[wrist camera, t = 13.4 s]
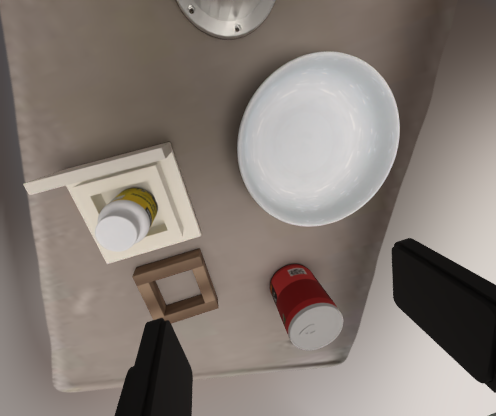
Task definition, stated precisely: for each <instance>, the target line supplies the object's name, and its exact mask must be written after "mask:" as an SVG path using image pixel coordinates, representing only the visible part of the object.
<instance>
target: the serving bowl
mask: <svg viewBox="0 0 496 416" xmlns="http://www.w3.org/2000/svg"><path fill="white" fill-rule="evenodd" d="M399 134H400V124H399V115H398V109H397V105H396V102H395V99H394V96H393V94H392V92H391V90H390V88H389V86H388V84H387V83H386V81H385V80H384V79H383V77H382V76H381V75H380V74H379V73H378V72H377V71H376V70H375V69H374V68H373V67H372V66H370V65H369V64H368V63H366V62H365V61H363V60H361V59H359V58H357V57H355V56H352V55H349V54H346V53H340V52H332V51H325V52H315V53H310V54H306V55H303V56H300V57H298V58H295V59H293V60H291V61H289V62H287V63H286V64H284V65H283V66H281V67H280V68H278V69H277V70H276V71H274V72H273V73H272V74H271V75H270V76H269V77H268V78H267V79H266V80H265V81H264V82H263V83H262V84H261V85H260V86H259V88H258V89H257V90H256V92H255V93H254V95H253V96H252V98H251V100H250V101H249V103H248V105H247V107H246V109H245V112H244V114H243V117H242V120H241V124H240V128H239V132H238V141H237V157H238V164H239V169H240V173H241V176H242V179H243V181H244V184H245V186H246V188H247V190H248V191H249V193H250V195H251V196H252V197H253V199H254V200H255V201H256V202H257V204H258V205H259V206H260V207H261V208H262V209H263V210H265V211H266V212H267V213H268V214H270V215H271V216H273V217H275V218H276V219H278V220H280V221H283V222H285V223H288V224H292V225H297V226H320V225H326V224H330V223H333V222H336V221H339V220H341V219H343V218H345V217H347V216H349V215H351V214H352V213H354V212H355V211H357V210H358V209H359V208H361V207H362V206H363V205H364V204H366V203H367V202H368V201H369V200H370V199H371V198H372V197H373V196H374V195H375V193H376V192H377V191H378V190H379V188H380V187H381V186H382V184H383V183H384V181H385V179H386V178H387V176H388V174H389V172H390V169H391V167H392V165H393V162H394V159H395V156H396V153H397V149H398V143H399Z"/></svg>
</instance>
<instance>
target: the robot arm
mask: <svg viewBox="0 0 496 416" xmlns="http://www.w3.org/2000/svg"><path fill="white" fill-rule="evenodd" d="M176 1H177V4H178V5H179V7H180V8H181V10H182V12H183V13H184V15H185V16H186V17H187V18H188V19H189V20H190V21H191V22H192V24H193V25H195V26H196V27H197V28H199V29H200V30H201V31H203V32H205V33H207V34H209V35H211V36H214V37H217V38H221V39H235V38H241V37H243V36H246V35H248V34H250V33H251V32H253V31H254V30H256V29H257V28H258V27H259V26H260V25H261V24H262V23H263V22H264V21H265V19H266V18H267V16H268V15H269V13H270V11H271V9H272V7H273V5H274V3H275V0H176ZM190 10H193V11H194V13H193V14H190V12H189V11H190ZM236 28H237V29H238V30H239V32H236V31H235V29H236ZM392 271H393V296H394V297H393V298H394V301H395V303H396V305H397V306H398V307H399V308H400V309H401V310H402V311H403V312H404V313H405V314H406V315H407V316H409V317H410V318H411V319H412V320H413V321H414V322H415V323H416V324H417V325H418V326H419V327H420V328H421V329H422V330H423V331H425V332H426V333H427V334H428V335H429V336H430V337H431V338H432V339H433V340H434V341H435V342H436V343H437V344H438V345H439V346H441V347H442V348H443V349H444V350H445V351H446V352H447V353H448V354H449V355H450V356H451V357H452V358H454V360H455V361H457V362H458V363H459V364H460V365H461V366H462V367H463V368H464V369H465V370H466V371H467V372H468V373H469V374H470V375H471V376H472V377H474V378H475V379H476V380H477V381H479V382H480V383H485V384H486V385H487V386H488V387H489V388H490V389H491V390H492V391H494V392H496V285H495V284H493V283H491V282H489V281H487V280H486V279H484V278H482V277H480V276H478V275H476V274H475V273H473V272H471V271H469V270H468V269H466V268H464V267H462V266H460V265H459V264H457V263H455V262H453V261H451V260H450V259H448V258H446V257H444V256H442V255H441V254H439V253H437V252H435V251H433V250H432V249H430V248H428V247H426V246H424V245H422V244H421V243H419V242H417V241H415V240H414V239H411V238H408V239H405V240H402V241H399V242H396V243H395V244H394V247H393V248H392ZM192 381H193V376H192V370H191V367H190V364H189V362H188V360H187V358H186V356H185V354H184V351H183V349H182V347H181V345H180V343H179V341H178V338H177V336H176V334H175V332H174V330H173V328H172V325H171V323H170V321H169V320H166V321H165V320H164V319H163V318H159V319H156V320H153V321H150V322H147V323H146V325H145V328H144V332H143V336H142V339H141V343H140V347H139V350H138V354H137V358H136V362H135V365H134V366H133V367H131V368H130V369H129V370H128V372H127V375H126V378H125V382H124V385H123V389H122V392H121V396H120V399H119V403H118V406H117V410H116V413H115V416H191V414H192V413H191V412H192V411H191V410H192ZM489 416H496V413H494V414H491V415H489Z"/></svg>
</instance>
